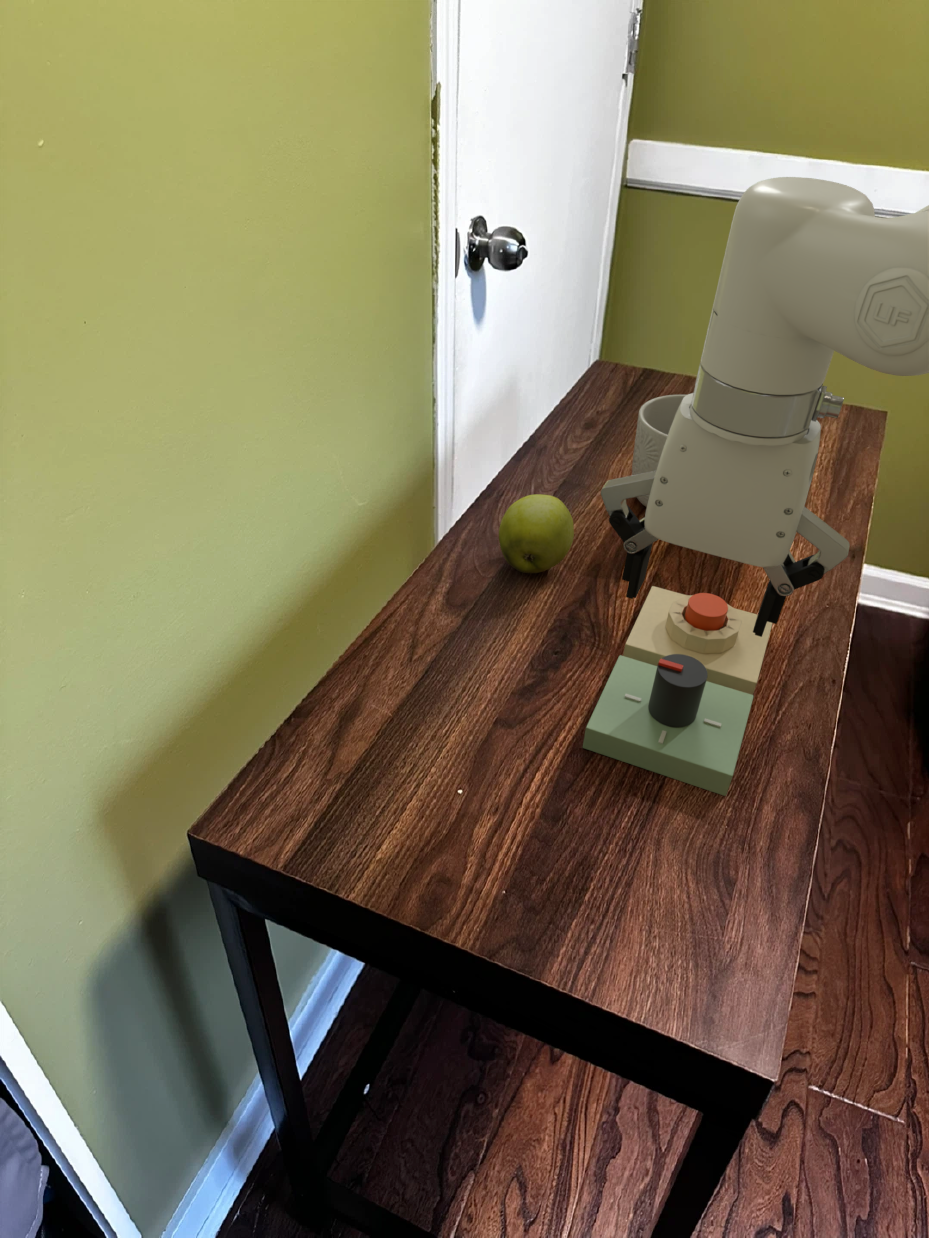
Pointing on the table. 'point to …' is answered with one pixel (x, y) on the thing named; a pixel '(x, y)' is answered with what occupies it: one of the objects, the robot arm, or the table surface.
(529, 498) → the apple
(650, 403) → the planter
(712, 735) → the dial base
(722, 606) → the stop button
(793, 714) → the table surface
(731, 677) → the button base
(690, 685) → the dial
